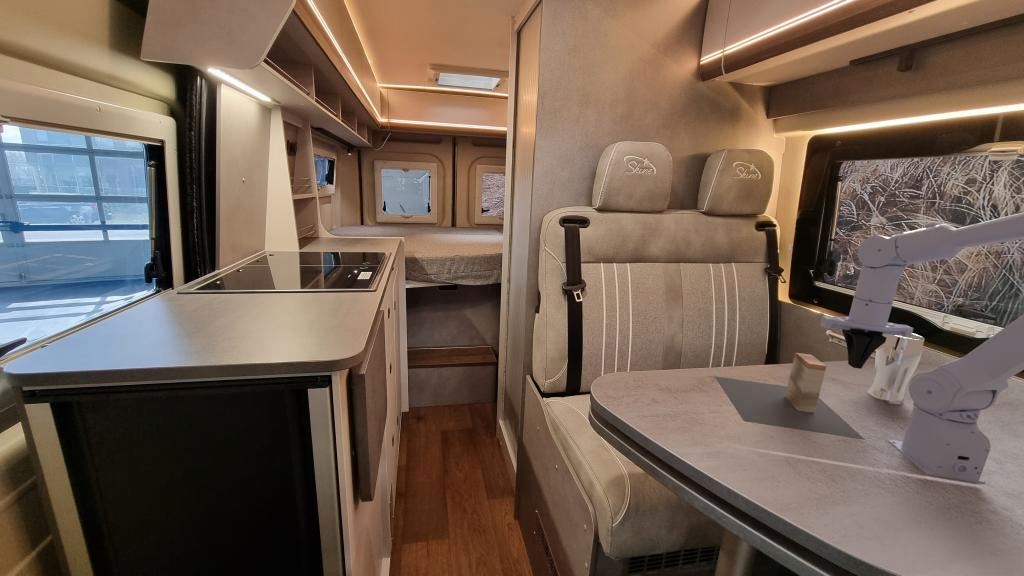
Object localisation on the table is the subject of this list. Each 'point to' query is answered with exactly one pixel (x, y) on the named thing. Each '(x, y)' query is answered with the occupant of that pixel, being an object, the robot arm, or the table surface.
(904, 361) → the beer glass
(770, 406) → the rubber mat
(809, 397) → the birch block
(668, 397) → the table surface
